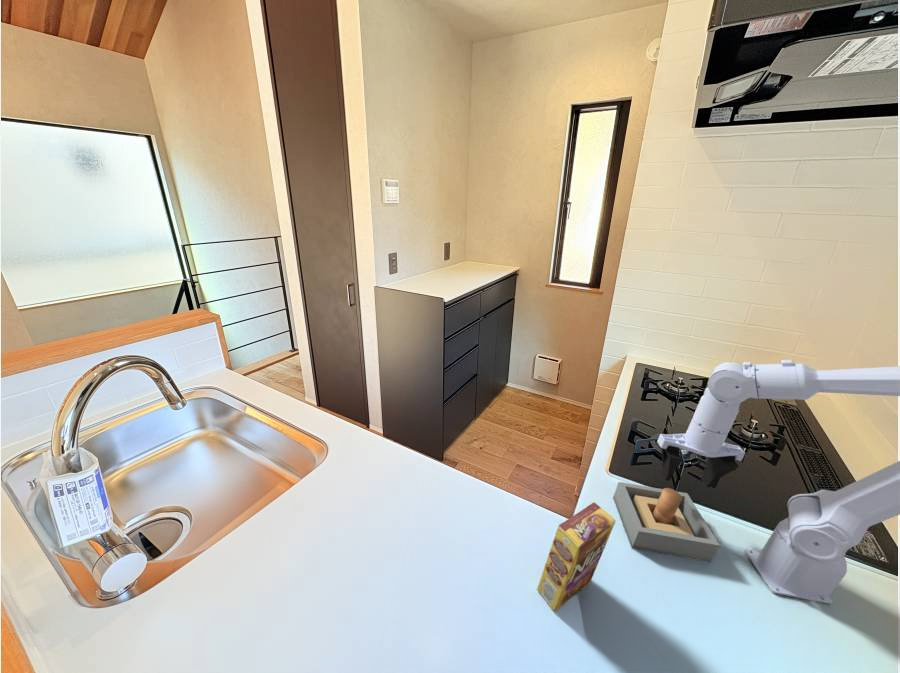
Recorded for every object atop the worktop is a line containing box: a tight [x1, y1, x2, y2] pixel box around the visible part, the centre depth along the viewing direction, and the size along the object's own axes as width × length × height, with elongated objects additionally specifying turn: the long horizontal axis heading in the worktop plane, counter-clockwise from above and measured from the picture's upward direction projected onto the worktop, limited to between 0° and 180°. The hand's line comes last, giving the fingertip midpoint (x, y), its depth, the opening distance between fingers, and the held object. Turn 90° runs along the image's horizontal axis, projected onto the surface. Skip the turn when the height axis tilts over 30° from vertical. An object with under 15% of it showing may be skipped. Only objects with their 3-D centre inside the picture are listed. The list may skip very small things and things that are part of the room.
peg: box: [652, 487, 682, 525], centre depth 69 cm, size 3×3×8 cm
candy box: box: [536, 501, 616, 613], centre depth 55 cm, size 9×4×15 cm, turn 124°
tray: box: [612, 481, 721, 563], centre depth 70 cm, size 14×12×4 cm
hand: (685, 480), depth 71 cm, fingers open, 7 cm apart
